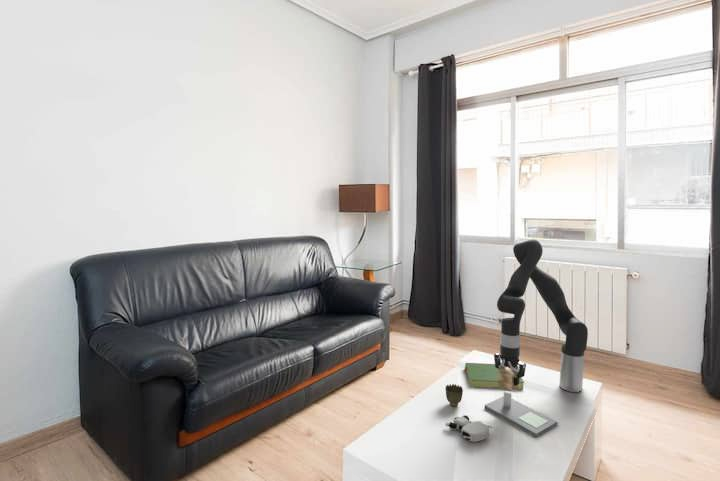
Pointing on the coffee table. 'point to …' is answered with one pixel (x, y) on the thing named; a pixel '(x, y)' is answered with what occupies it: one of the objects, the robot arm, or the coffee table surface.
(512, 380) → the cardboard box
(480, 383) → the hardcover book
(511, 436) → the coffee table surface
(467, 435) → the robot toy
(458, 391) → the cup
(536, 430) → the post board
